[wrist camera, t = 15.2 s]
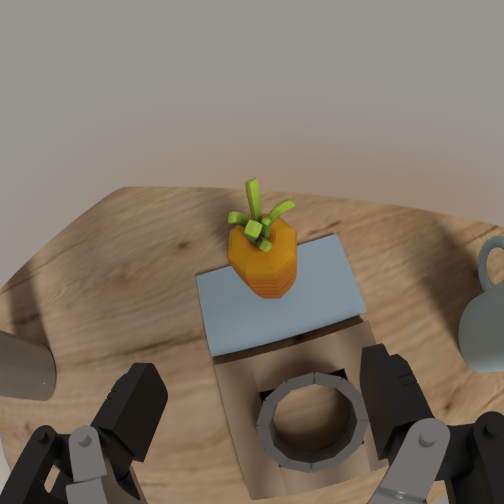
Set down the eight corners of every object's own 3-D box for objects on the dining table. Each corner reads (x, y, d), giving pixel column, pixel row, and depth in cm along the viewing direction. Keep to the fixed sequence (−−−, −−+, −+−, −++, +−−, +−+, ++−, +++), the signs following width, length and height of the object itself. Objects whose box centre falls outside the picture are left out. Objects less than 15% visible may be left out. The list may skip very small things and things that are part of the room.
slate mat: (212, 357, 26) (211, 356, 25) (197, 277, 30) (195, 276, 29) (366, 311, 25) (366, 311, 24) (336, 235, 29) (336, 233, 28)
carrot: (263, 262, 29) (230, 160, 15) (307, 278, 27) (311, 179, 14) (242, 304, 27) (185, 228, 14) (288, 323, 25) (275, 260, 12)
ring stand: (254, 494, 19) (247, 508, 15) (218, 365, 25) (207, 364, 22) (399, 454, 18) (411, 463, 15) (364, 323, 24) (373, 315, 21)
